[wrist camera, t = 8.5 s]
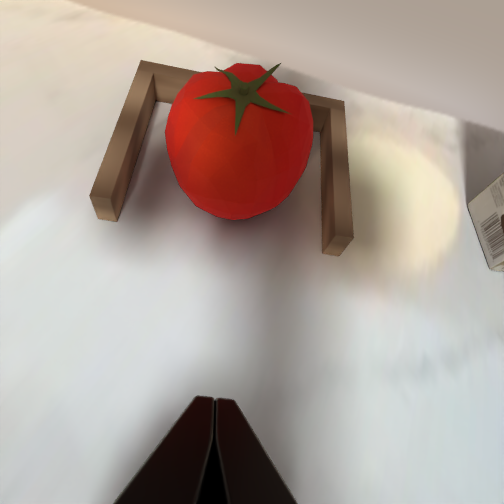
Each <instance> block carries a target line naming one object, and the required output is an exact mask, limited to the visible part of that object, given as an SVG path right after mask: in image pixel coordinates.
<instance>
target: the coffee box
mask: <svg viewBox="0 0 504 504" xmlns="http://www.w3.org/2000/svg"><path fill="white" fill-rule="evenodd" d="M468 209H469V212H470V215H471V217H472V220H473V223H474V226H475V229H476V232H477V234H478V237H479V240H480V243H481V246H482V248H483V251H484V254H485V257H486V260H487V263H488V265H489V268H490V269H491V270H494V271H504V173H503V174H502V175H501V176H499V177H498V178H497V179H496V180H495V181H493V182H492V183H491V184H490V185H489V186H488V187H487V188H486V189H484V190H483V191H482V192H481V193H480V194H479V195H477V196H476V197H475V198H474V199H473V200H472V201H471V202H469V204H468Z"/></svg>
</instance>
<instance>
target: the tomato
mask: <svg viewBox="0 0 504 504" xmlns="http://www.w3.org/2000/svg"><path fill="white" fill-rule="evenodd" d="M280 64H281V63H280ZM280 64H278V65H276V66H274V67H273V68H272V69H270V70H269V71H268V72H267V71H266V70H265V69H264V68H263V67H262V66H260V65H253V64H242V63H236V64H234V65H233V66H231V67H229V68H227V69H225V70H224V71H223V70H219V69H217V68H216V67H215V68H216V70H218V71H220V72H211V71H206V72H202V73H198V74H194V75H193V76H192V77H191V78H190V79H189V81H188V82H187V83H186V84H185V85H184V86H183V88H182V89H181V90H180V91H179V92H178V94H177V96H176V98H175V100H174V102H173V104H172V106H171V110H170V113H169V116H168V120H167V125H166V129H165V136H166V144H167V150H168V154H169V158H170V162H171V166H172V168H173V171H174V173H175V176H176V178H177V181H178V183H179V186H180V187H181V188H182V189H183V191H184V192H185V193H186V194H187V196H188V197H189V198H190V199H191V201H192V202H193V203H194V204H195V205H196V206H197V207H199V208H201V209H203V210H204V211H206V212H208V213H210V214H213V215H215V216H217V217H221V218H226V219H231V220H237V219H248V218H251V217H253V216H256V215H258V214H261V213H263V212H266V211H269V210H271V209H273V208H274V207H276V206H278V205H279V204H280V203H281V202H282V201H283V200H284V199H286V198H287V197H288V196H289V194H290V193H291V191H292V189H293V188H294V186H295V185H296V183H297V182H298V180H299V179H300V177H301V175H302V174H303V172H304V170H305V168H306V165H307V162H308V158H309V154H310V150H311V147H312V141H313V118H312V113H311V109H310V104H309V101H308V100H307V99H306V98H305V96H304V95H303V94H302V93H301V92H300V91H299V89H298V88H297V87H295V86H292V85H289V84H285V83H278V81H277V79H275V78H274V77H273V76H272V75H271V74H272V73H273V72H274V71H275V70H276V69H277V68H278V66H279V65H280Z"/></svg>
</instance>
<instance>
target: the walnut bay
mask: <svg viewBox="0 0 504 504" xmlns="http://www.w3.org/2000/svg"><path fill="white" fill-rule="evenodd" d="M198 73H202V72H197V71H192V70H187V69H182V68H178V67H173V66H168V65H163V64H158V63H153V62H148V61H143V60H141V61H140V64H139V66H138V69H137V72H136V74H135V77H134V80H133V82H132V85H131V87H130V90H129V93H128V95H127V98H126V101H125V103H124V106H123V108H122V111H121V114H120V116H119V119H118V122H117V124H116V127H115V130H114V132H113V135H112V137H111V140H110V143H109V145H108V148H107V151H106V153H105V156H104V158H103V161H102V164H101V166H100V169H99V172H98V174H97V177H96V179H95V182H94V185H93V187H92V190H91V193H90V195H89V196H90V199H91V201H92V204H93V207H94V209H95V212H96V215H97V217H98V219H102V220H108V221H115V222H117V220H118V217H119V214H120V211H121V208H122V204H123V201H124V198H125V195H126V192H127V189H128V186H129V182H130V179H131V176H132V173H133V170H134V167H135V164H136V160H137V157H138V154H139V151H140V148H141V145H142V142H143V139H144V135H145V132H146V129H147V126H148V123H149V120H150V117H151V113H152V110H153V107H154V104H155V101H161V102H166V103H171V104H173V102H174V100H175V98H176V96H177V94H178V92H179V91H180V90H181V89H182V88H183V86H184V85H185V84H186V83H187V82H188V81H189V79H190V78H191V77H192V76H193V75H194V74H198ZM302 94H303V95H304V96H305V98H306V99H307V100H308V101H309V104H310V109H311V113H312V118H313V131H317V132H320V147H321V200H322V253H323V254H329V255H335V256H340V254H341V253H342V252H343V251H344V249H345V248H346V247H347V246H348V244H349V243H350V242H351V241H352V239H353V238H354V236H353V222H352V207H351V193H350V178H349V164H348V149H347V135H346V121H345V106H344V101H341V100H336V99H331V98H326V97H321V96H316V95H311V94H306V93H302Z"/></svg>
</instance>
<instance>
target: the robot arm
mask: <svg viewBox="0 0 504 504" xmlns="http://www.w3.org/2000/svg"><path fill="white" fill-rule="evenodd" d="M113 504H298V503H297V502H296V500H295V498H294V497H293V495H292V493H291V492H290V490H289V488H288V487H287V485H286V484H285V482H284V480H283V479H282V477H281V475H280V474H279V472H278V470H277V469H276V467H275V465H274V464H273V462H272V461H271V459H270V457H269V456H268V454H267V452H266V451H265V449H264V447H263V446H262V444H261V442H260V441H259V439H258V438H257V436H256V434H255V433H254V431H253V429H252V428H251V426H250V424H249V423H248V421H247V419H246V418H245V416H244V415H243V413H242V411H241V410H240V408H239V406H238V405H237V403H236V402H235V401H234V400H233V399H226V398H216V400H214V398H213V397H207V396H195V397H194V398H193V400H192V401H191V402H190V404H189V405H188V406H187V408H186V409H185V410H184V412H183V413H182V414H181V415H180V417H179V418H178V419H177V421H176V422H175V423H174V425H173V426H172V427H171V429H170V430H169V431H168V432H167V434H166V435H165V436H164V438H163V439H162V440H161V442H160V443H159V444H158V445H157V447H156V448H155V449H154V451H153V452H152V453H151V455H150V456H149V457H148V459H147V460H146V461H145V462H144V464H143V465H142V466H141V468H140V469H139V470H138V472H137V473H136V474H135V475H134V477H133V478H132V479H131V481H130V482H129V483H128V485H127V486H126V487H125V489H124V490H123V491H122V492H121V494H120V495H119V496H118V498H117V499H116V500H115V502H114V503H113Z"/></svg>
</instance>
